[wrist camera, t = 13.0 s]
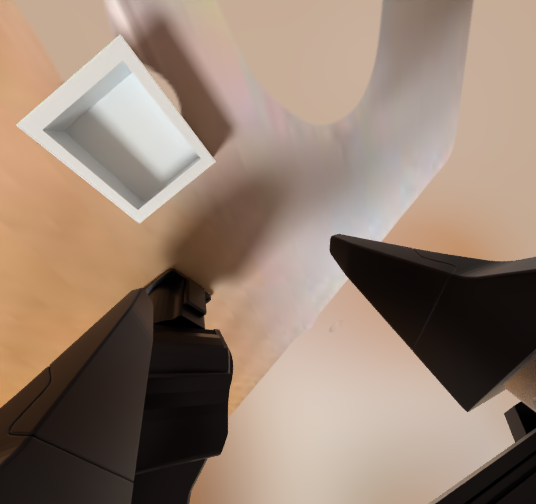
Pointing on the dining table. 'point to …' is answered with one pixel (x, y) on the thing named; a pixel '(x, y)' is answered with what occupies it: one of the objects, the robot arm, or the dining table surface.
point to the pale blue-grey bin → (119, 132)
